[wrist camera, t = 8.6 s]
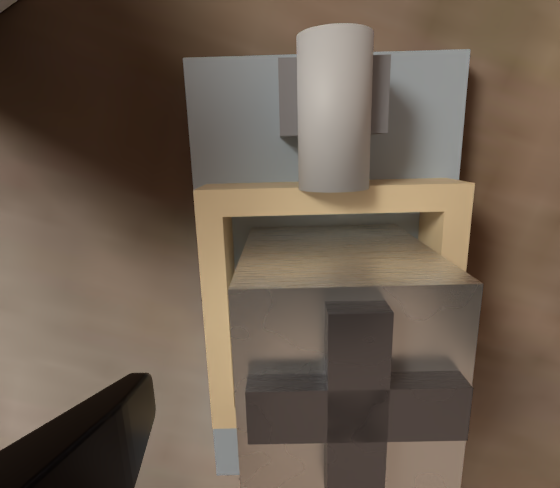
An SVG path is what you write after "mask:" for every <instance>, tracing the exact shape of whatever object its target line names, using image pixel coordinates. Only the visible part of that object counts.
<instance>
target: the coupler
mask: <svg viewBox="0 0 560 488" xmlns="http://www.w3.org/2000/svg"><path fill="white" fill-rule="evenodd" d="M482 293H483V283H481V282H480V281H478V280H477V279H476V278H474V277H473V276H471V275H470V274H468V273H467V272H465V271H464V270H462V269H461V268H459V267H458V266H456V265H455V264H453V263H452V262H450V261H449V260H447V259H446V258H444V257H443V256H442V255H440V254H439V253H437V252H436V251H434V250H433V249H431V248H430V247H428V246H427V245H425V244H424V243H422V242H421V241H419V240H418V239H416V238H415V237H413V236H412V235H410V234H409V233H408V232H406V231H405V230H403V229H402V228H400V227H399V226H397V225H396V224H376V225H334V226H292V227H251V230H250V233H249V235H248V238H247V241H246V243H245V246H244V249H243V251H242V254H241V256H240V259H239V262H238V264H237V267H236V270H235V272H234V275H233V278H232V280H231V283H230V286H229V288H228V297H229V313H230V329H231V345H232V361H233V377H234V394H235V410H236V426H237V442H238V458H239V474H240V488H461V480H462V471H463V462H464V453H465V444H466V441H467V440H468V431H469V422H470V413H471V404H472V396H473V387H472V382H473V373H474V364H475V355H476V346H477V337H478V328H479V319H480V310H481V301H482Z"/></svg>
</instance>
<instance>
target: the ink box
mask: <svg viewBox="0 0 560 488" xmlns="http://www.w3.org/2000/svg"><path fill="white" fill-rule="evenodd" d="M16 1H17V0H0V13H1V12H2V11H3V10H5V9H6V8H7V7H9V6H10V5H12V4H13V3H15V2H16Z"/></svg>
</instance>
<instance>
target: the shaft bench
mask: <svg viewBox="0 0 560 488" xmlns="http://www.w3.org/2000/svg"><path fill="white" fill-rule="evenodd" d="M373 43H374V30H373V29H372V28H370V27H368V26H365V25H361V24H352V23H336V24H326V25H320V26H315V27H311V28H308V29H305V30H303V31H301V32H300V33H298V34H297V54H291V55H257V56H223V57H189V58H183V67H184V79H185V91H186V104H187V116H188V128H189V141H190V153H191V165H192V177H193V196H194V209H195V221H196V233H197V245H198V257H199V270H200V282H201V294H202V306H203V319H204V331H205V343H206V355H207V368H208V380H209V392H210V404H211V416H212V429H213V435H214V448H215V460H216V472H217V475H240V474H239V458H238V442H237V426H236V410H235V394H234V377H233V361H232V345H231V329H230V313H229V297H228V288H229V286H230V283H231V280H232V278H233V275H234V272H235V270H236V267H237V264H238V262H239V259H240V256H241V254H242V251H243V249H244V246H245V243H246V241H247V238H248V235H249V233H250V230H251V227H292V226H334V225H376V224H396V225H397V226H399V227H400V228H402V229H403V230H405V231H406V232H408V233H409V234H410V235H412V236H413V237H415V238H416V239H418V240H419V241H421V242H422V243H424V244H425V245H427V246H428V247H430V248H431V249H433V250H434V251H436V252H437V253H439V254H440V255H442V256H443V257H444V258H446V259H447V260H449V261H450V262H452V263H453V264H455V265H456V266H458V267H459V268H461V269H462V270H464V271H465V272H466V268H467V258H468V248H469V238H470V228H471V217H472V207H473V197H474V187H475V183H472V182H466V181H461V180H459V174H460V162H461V151H462V140H463V128H464V117H465V106H466V94H467V83H468V72H469V60H470V49H461V50H427V51H393V52H373Z"/></svg>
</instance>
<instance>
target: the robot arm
mask: <svg viewBox="0 0 560 488" xmlns="http://www.w3.org/2000/svg"><path fill="white" fill-rule="evenodd" d="M155 411H156V406H155V398H154V389H153V381H152V377H151V375H150V374H149V373H131V374H128V375H127V376H125V377H123V378H122V379H120V380H118V381H117V382H115V383H113V384H112V385H110V386H108V387H107V388H105V389H103V390H102V391H100V392H98V393H96V394H95V395H93V396H91V397H90V398H88V399H86V400H85V401H83V402H81V403H80V404H78V405H76V406H75V407H73V408H71V409H70V410H68V411H66V412H64V413H63V414H61V415H59V416H58V417H56V418H54V419H53V420H51V421H49V422H48V423H46V424H44V425H43V426H41V427H39V428H38V429H36V430H34V431H32V432H31V433H29V434H27V435H26V436H24V437H22V438H21V439H19V440H17V441H16V442H14V443H12V444H11V445H9V446H7V447H6V448H4V449H2V450H1V451H0V488H134V487H135V484H136V481H137V477H138V474H139V470H140V467H141V463H142V460H143V456H144V453H145V449H146V446H147V442H148V439H149V435H150V432H151V429H152V425H153V422H154V418H155Z"/></svg>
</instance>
